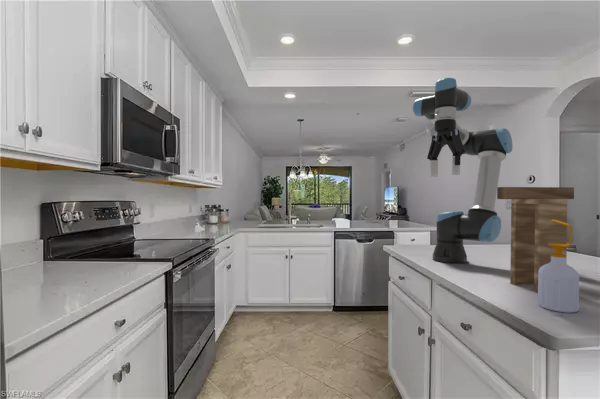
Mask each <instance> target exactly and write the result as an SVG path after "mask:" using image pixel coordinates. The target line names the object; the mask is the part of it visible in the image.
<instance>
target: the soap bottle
mask: <svg viewBox="0 0 600 399" xmlns="http://www.w3.org/2000/svg"><path fill="white" fill-rule="evenodd" d="M552 222H555V223H558V224H561V225H565V226H567V228H568V229H569V242H568V243H567V244H559V243H549V244H548V246H553V247H552V248H553V249H555V254H551V262H550V263H548V264H545V265H543V266H542V267H540V269H539V271H538V292H537V303H538V305H539V306H540V307H542V308H543V309H546V310H548V311H552V312H557V313H558V312H559V313H566V314H567V313H569V314H571V313H573V314H574V313H577V312H578V311H579V309H580V274H579V272H578V271H577V270H576V269H575V268H574V267H572V266H570V265H569V264H568V263H567V258H566V255H563V254H562V250H565V247H567V248H569V247H571V246H572V242H573V241H572V240H573V228H572V225H570V224H569V223H568V222H567V223H564V222H560V221H557V220H553V219H552Z"/></svg>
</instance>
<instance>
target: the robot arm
mask: <svg viewBox="0 0 600 399" xmlns="http://www.w3.org/2000/svg"><path fill="white" fill-rule="evenodd" d="M457 86H458V84H457V80H456V78H453V77H444V78H440V79H438V80H437V81H436V82H435V86H434V94H433V95H430V96H429V95H428V96H425V97H424V96H423V97H422V98H418V99H416V100H415V101H414V102H413V105H412V112H413V114H414V116H416V117H423V116H424V117H425V118H426V119H427V120H428V121H430V123H431V124H432V125H433V126H434V131H435V132H436V133H437V134H436V135H435V134H434V135H432V136H431V143H430V145H429V149H428V152H427V157H426V159H427V160H429V162H430V177H433V178H435V177H436V178H437V177H439V159H438V158H439V155H440V153H441V151H442V149H443V147H445V146H446V145H447V146H448V148H449V150H450V151H451V154H452V155H451V175H453V176H454V175H456V176H458V175H460V173H461V169H460V168H461V158H462V156H463V155H469V156H477V157H478V159H480V162H479V166H478V167H479V168H478V174H477V179H476V185H475V191H474V197H473V204H472V207H470V208H468V212H467V214H465V213H464V211H462V210H461V211H460V210H459V211H447V212H439V213H437V215H436V243H435V247H434V249H433V253H432V260H434V261H437V262H443V263H448V264H449V263H451V264H461V263H462V264H464V263H467V262H468V256H467V252H466V249H465V246H464V240H465V241H466V240H467V241H475V242H481V243H484V242H485V243H486V242H487V243H492V242H494V241H496V239H497V238H498V237H499V235H500V233H501V229H502V219H501V218H500V216H499V215H498V212H497V211H496V210H495V206H496V199H497V187H499V185H498V184H499V179H500V173H501V166H502V161H504V160H506V158H507V154H510V153H512V151H513V139H512V135H511V133H510V131H509V130H508V129H507V128H504V127H502V128H495V129H494V128H493V129H486V130H484V129H483V130H479V131H468V130H467V129H465V128H462V126H460V124H458V122H457V121H456V119H457V112H463V111H465V110H467V109H469V107H470V106H471V104H472V97H471V95H470V94H469V93H468V92H466V91H464V90H462V89H459V88H458V87H457Z"/></svg>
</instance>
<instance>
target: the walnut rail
mask: <svg viewBox="0 0 600 399" xmlns="http://www.w3.org/2000/svg"><path fill="white" fill-rule="evenodd" d="M496 199H497V200H511V199H567V200H575V187H573V186H572V187H569V186H567V187H565V186H563V187H562V186H559V187H558V186H557V187H554V186H549V187H548V186H540V187H539V186H498V187H497V193H496Z"/></svg>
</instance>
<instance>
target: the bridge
mask: <svg viewBox="0 0 600 399" xmlns="http://www.w3.org/2000/svg"><path fill="white" fill-rule="evenodd" d="M510 201H511V203H510V204H511V206H510V208H511V209H510V212H511V213H510V269H509V271H510V272H509V274H510V276H509V278H510V282H509V284H511V285H514V286H519V285H533V291H534V292H535V293H538V271H539V269H540V267H542V266H543V265H545V264H548V263H550V262H551V254H555V249H553V248H552V247H553V246H548V244H549V243H559V244H568V243H567V241H568V238H567V237H568V227H567V226H565V225H561V224H558V223H555V222H552V219H553V220H557V221H560V222H564V223H567V224H568V199H510ZM567 251H568V247H565V250H562V254H563V255H566V259H567V254H568V252H567Z"/></svg>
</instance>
